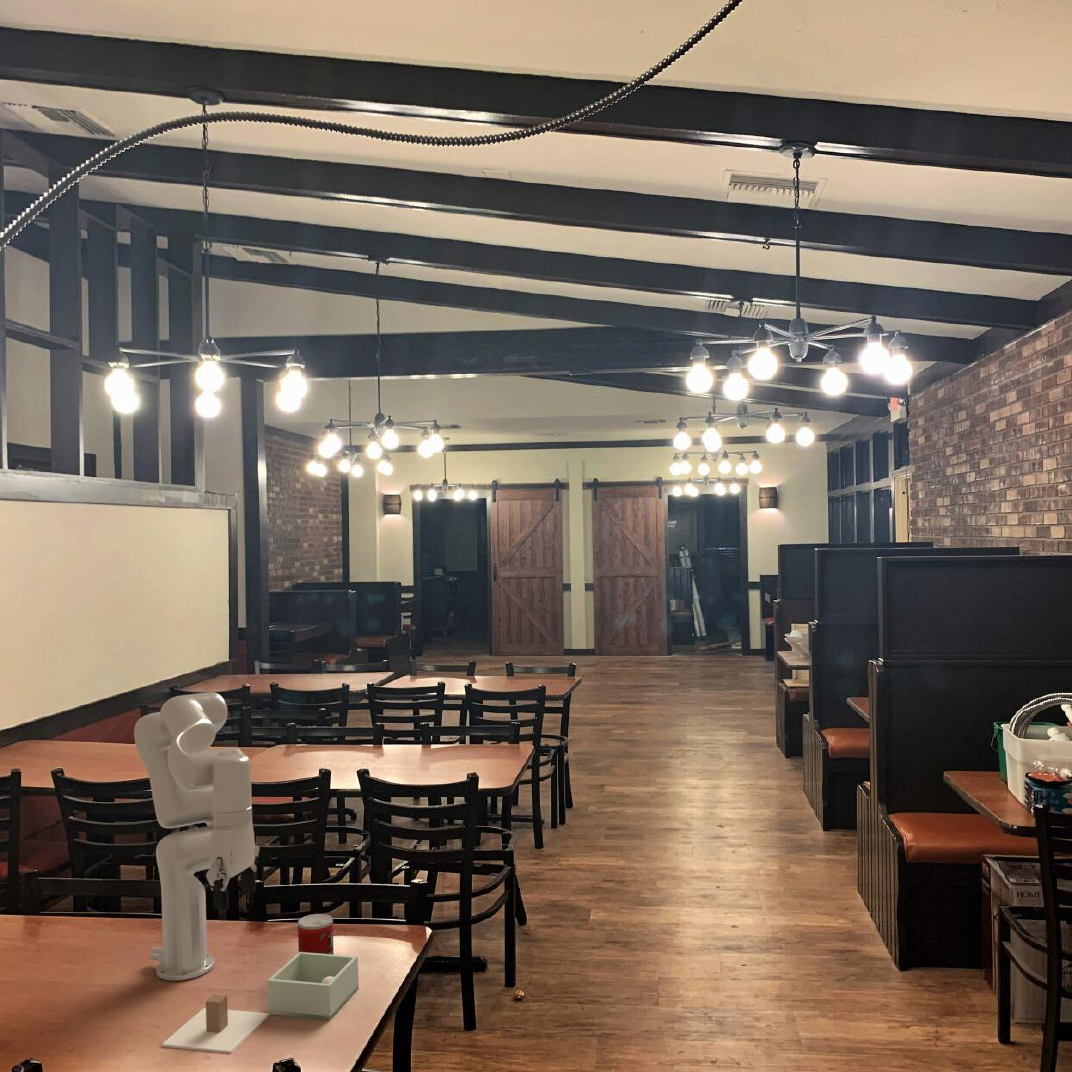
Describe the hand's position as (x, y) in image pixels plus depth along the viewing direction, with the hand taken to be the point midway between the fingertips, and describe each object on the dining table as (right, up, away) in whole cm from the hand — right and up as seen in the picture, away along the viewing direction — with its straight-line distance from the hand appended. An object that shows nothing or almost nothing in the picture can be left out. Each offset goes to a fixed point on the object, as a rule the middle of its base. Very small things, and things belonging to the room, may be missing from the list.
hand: (235, 900), depth 195 cm
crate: (+14, -25, +9) cm, 30 cm away
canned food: (+11, -25, +25) cm, 37 cm away
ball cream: (+17, -22, +10) cm, 30 cm away
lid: (-3, -26, -2) cm, 26 cm away
